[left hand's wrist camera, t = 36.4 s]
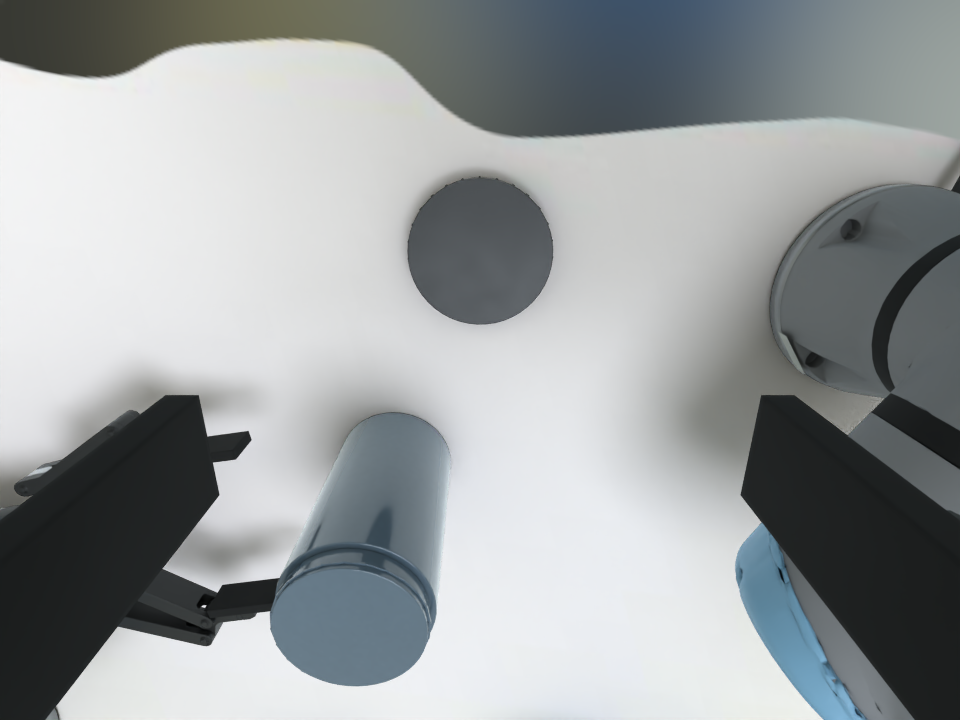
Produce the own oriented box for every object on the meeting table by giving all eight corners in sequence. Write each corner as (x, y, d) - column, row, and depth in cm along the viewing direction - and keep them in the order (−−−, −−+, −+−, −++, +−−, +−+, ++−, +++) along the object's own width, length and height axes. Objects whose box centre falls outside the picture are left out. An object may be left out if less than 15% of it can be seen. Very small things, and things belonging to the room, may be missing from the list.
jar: (379, 391, 43) (318, 534, 27) (472, 451, 45) (468, 617, 29) (321, 470, 46) (233, 644, 29) (411, 523, 48) (375, 713, 31)
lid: (383, 219, 38) (378, 222, 36) (513, 148, 36) (514, 148, 35) (451, 340, 41) (450, 348, 40) (573, 280, 40) (577, 286, 38)
